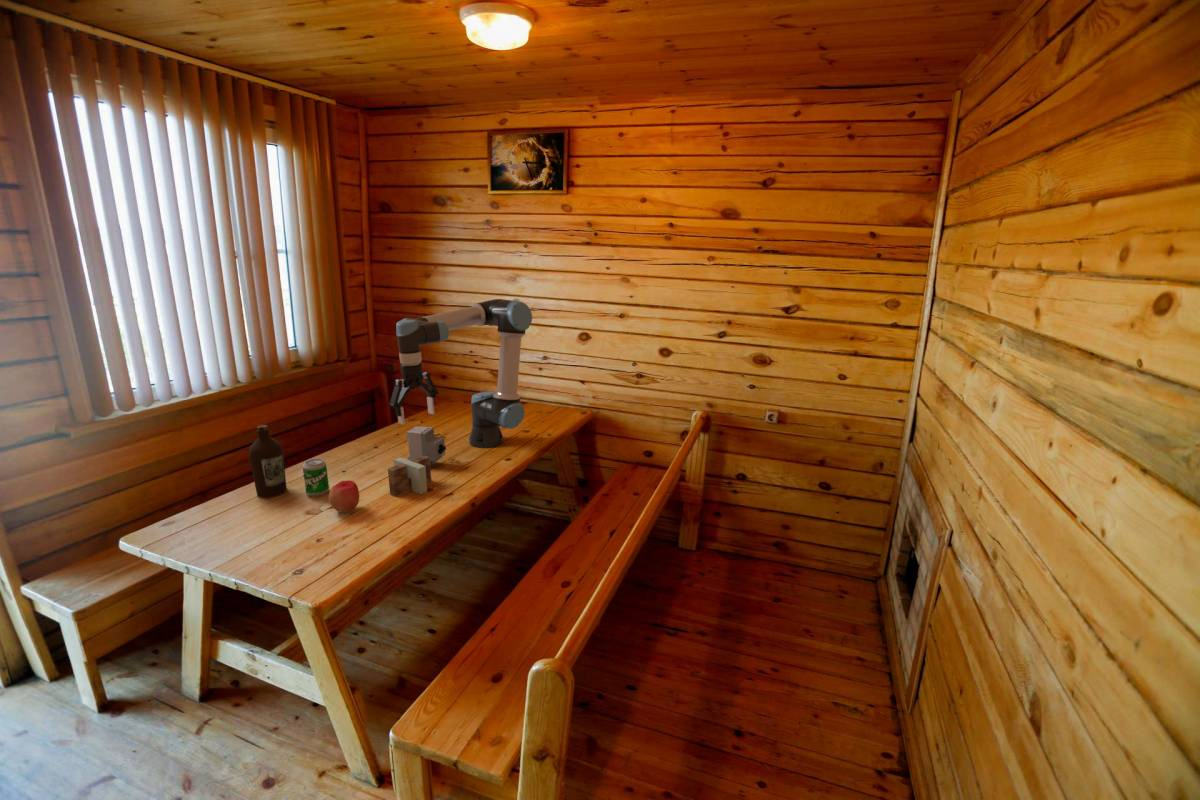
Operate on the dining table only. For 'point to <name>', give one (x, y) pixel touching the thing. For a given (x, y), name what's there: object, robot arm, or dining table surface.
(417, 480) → the grey panel
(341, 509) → the apple
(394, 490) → the brown notched flat block
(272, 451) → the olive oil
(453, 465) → the dining table surface
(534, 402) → the dining table surface
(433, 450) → the circuit breaker
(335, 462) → the dining table surface
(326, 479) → the soda can
